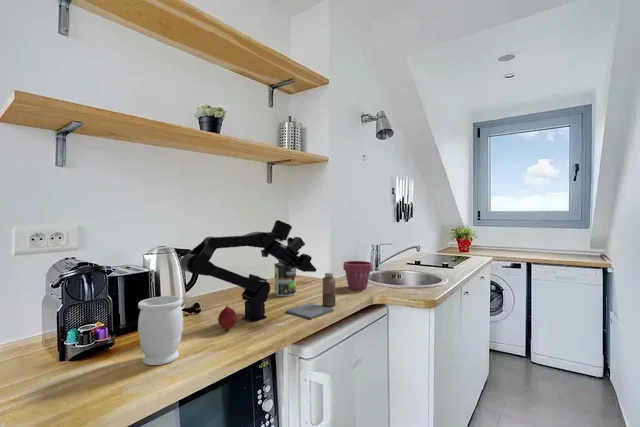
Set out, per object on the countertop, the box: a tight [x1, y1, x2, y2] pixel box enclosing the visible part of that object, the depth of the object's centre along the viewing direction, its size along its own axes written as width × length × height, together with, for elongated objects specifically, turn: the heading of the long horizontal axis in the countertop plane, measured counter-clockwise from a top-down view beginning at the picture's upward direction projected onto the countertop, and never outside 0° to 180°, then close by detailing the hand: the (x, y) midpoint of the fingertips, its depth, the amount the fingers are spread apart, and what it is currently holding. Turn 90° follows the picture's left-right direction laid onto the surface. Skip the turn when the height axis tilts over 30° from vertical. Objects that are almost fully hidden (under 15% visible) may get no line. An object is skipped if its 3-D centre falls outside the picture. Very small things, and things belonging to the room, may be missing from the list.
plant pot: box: [343, 260, 373, 291], centre depth 164 cm, size 14×14×13 cm
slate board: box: [285, 302, 335, 320], centre depth 123 cm, size 13×13×1 cm
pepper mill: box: [322, 272, 336, 308], centre depth 132 cm, size 5×5×13 cm
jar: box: [137, 295, 184, 366], centre depth 83 cm, size 11×10×15 cm
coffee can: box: [273, 262, 297, 297], centre depth 152 cm, size 10×10×14 cm
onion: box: [217, 304, 238, 331], centre depth 104 cm, size 6×6×8 cm
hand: (309, 268), depth 131 cm, fingers open, 9 cm apart
